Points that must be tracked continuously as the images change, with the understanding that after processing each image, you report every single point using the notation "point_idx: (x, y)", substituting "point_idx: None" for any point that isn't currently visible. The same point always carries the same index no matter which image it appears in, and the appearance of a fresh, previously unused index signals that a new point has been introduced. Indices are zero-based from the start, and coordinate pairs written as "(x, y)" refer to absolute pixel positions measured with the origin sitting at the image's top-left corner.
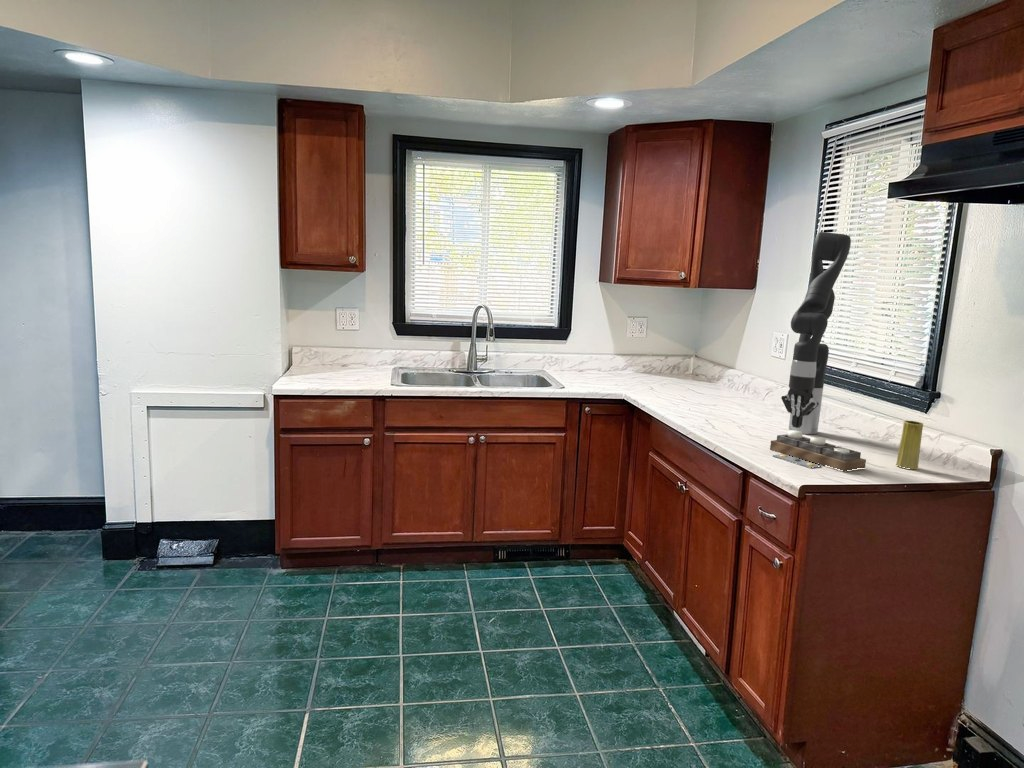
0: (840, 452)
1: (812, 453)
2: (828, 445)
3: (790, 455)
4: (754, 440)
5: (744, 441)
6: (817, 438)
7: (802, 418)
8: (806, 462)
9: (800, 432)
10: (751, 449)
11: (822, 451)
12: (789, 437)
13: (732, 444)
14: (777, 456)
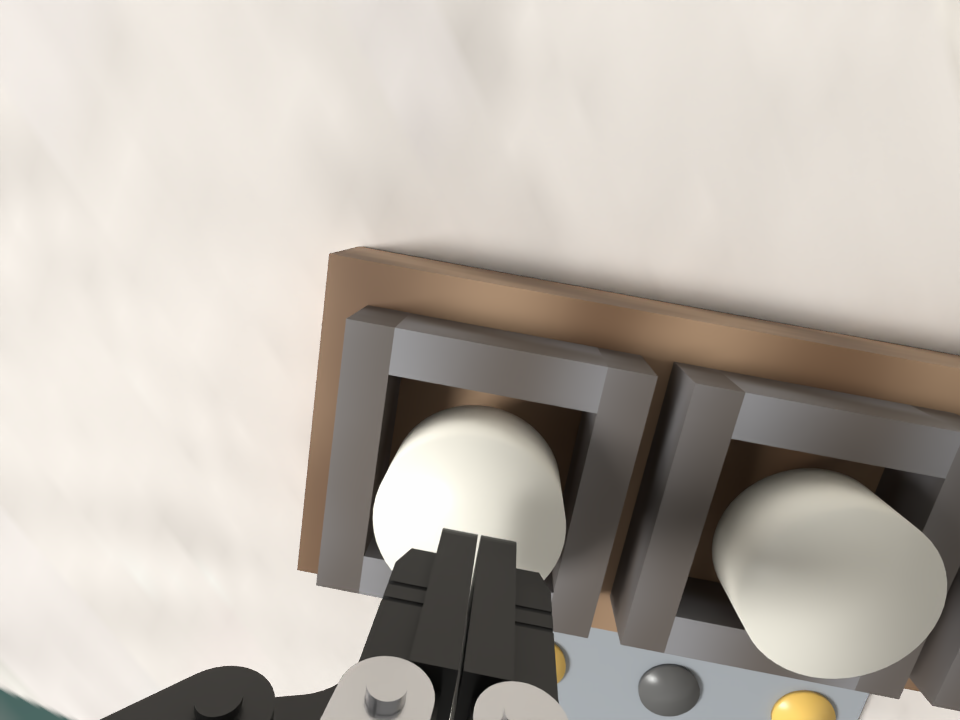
0: None
1: None
2: (940, 524)
3: None
4: (34, 326)
5: (35, 451)
6: (845, 629)
7: (554, 687)
8: (750, 683)
9: (529, 497)
10: (255, 643)
11: (910, 677)
12: None
13: (82, 631)
14: None
